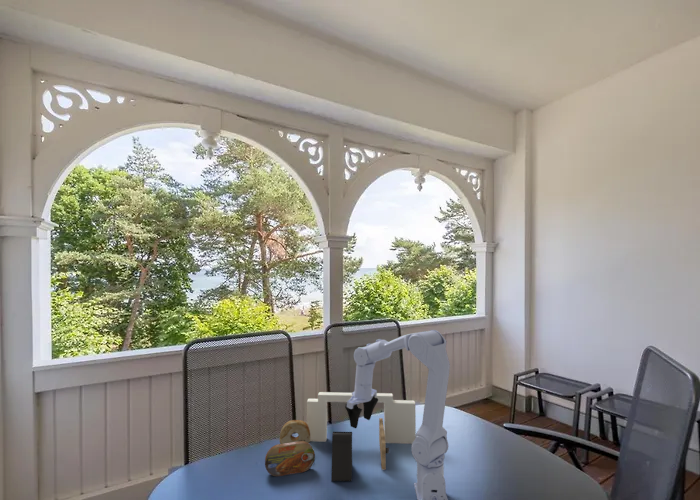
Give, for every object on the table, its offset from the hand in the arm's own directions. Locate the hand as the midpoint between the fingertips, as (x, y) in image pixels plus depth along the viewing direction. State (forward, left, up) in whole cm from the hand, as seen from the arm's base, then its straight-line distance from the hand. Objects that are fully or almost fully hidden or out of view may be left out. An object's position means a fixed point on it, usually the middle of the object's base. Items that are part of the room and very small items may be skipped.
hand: (360, 422), depth 119 cm
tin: (-10, +21, -11) cm, 26 cm away
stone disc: (+3, +22, -11) cm, 25 cm away
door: (+1, -8, -10) cm, 13 cm away
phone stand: (-10, +5, -11) cm, 16 cm away
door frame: (+11, 0, -11) cm, 15 cm away
